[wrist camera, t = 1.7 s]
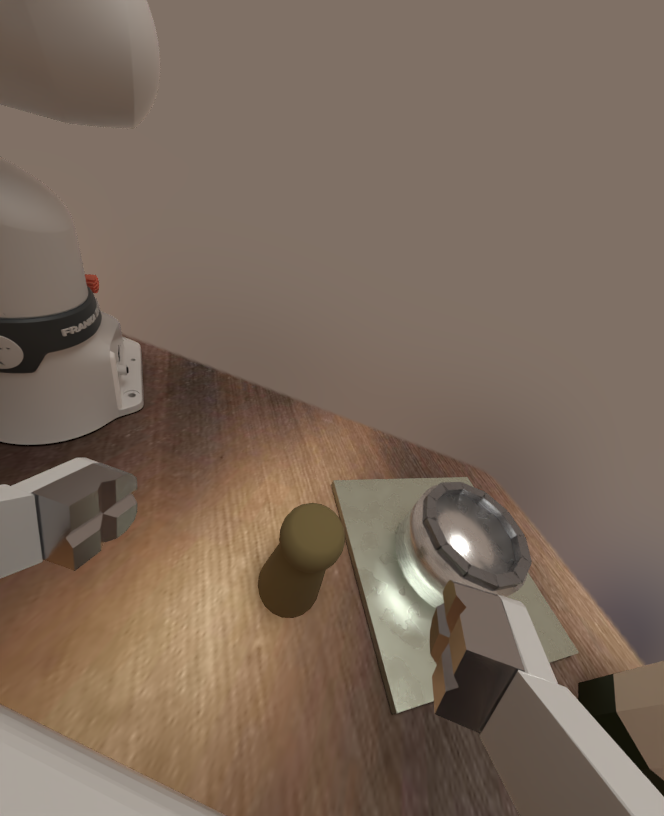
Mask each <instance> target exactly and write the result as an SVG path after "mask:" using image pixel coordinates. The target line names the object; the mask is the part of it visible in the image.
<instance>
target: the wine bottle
mask: <svg viewBox="0 0 664 816" xmlns="http://www.w3.org/2000/svg"><path fill="white" fill-rule="evenodd" d="M579 702H580V703H581V704H582V705H583V706H584V707H585V709H586V710H587V711H588V712H589V713H590V714H591V715H592V717H593V718H594V719H595V720H596V721H597V722H598V723H599V724H600V726H601V727H602V728H603V729H604V730H605V731H606V732H607V733H608V735H609V736H610V737H611V738H612V739H613V740H614V741H615V742H616V744H617V745H618V746H619V747H620V748H621V749H622V750H623V751H624V753H625V754H626V755H627V756H628V757H629V758H630V759H631V760H632V762H633V763H634V764H635V765H636V766H637V767H638V768H639V769H640V771H641V772H642V773H643V774H644V775H645V776H646V777H647V778H648V780H649V781H650V782H651V783H652V784H653V785H654V786H655V787H656V789H657V790H658V791H659V792H660V793H661V794H662V795H663V796H664V661H661V662H658V663H654V664H650V665H646V666H642V667H638V668H634V669H631V670H627V671H623V672H619V673H615V674H611V675H608V676H604V677H600V678H596V679H592V680H588V681H585V682H581V683H579Z"/></svg>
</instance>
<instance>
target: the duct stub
mask: <svg viewBox="0 0 664 816" xmlns="http://www.w3.org/2000/svg"><path fill="white" fill-rule="evenodd" d="M331 486H332V490H333V493H334V497H335V501H336V505H337V509H338V512H339V516H340V520H341V522H342V525H343V528H344V531H345V539H346V543H347V546H348V550H349V554H350V558H351V562H352V565H353V569H354V573H355V577H356V581H357V584H358V588H359V592H360V596H361V600H362V603H363V607H364V611H365V615H366V619H367V622H368V626H369V630H370V634H371V637H372V641H373V645H374V649H375V653H376V656H377V660H378V664H379V668H380V672H381V675H382V679H383V683H384V687H385V691H386V694H387V698H388V702H389V706H390V710H391V713H392V715H393V714H396V713H399V712H402V711H405V710H408V709H411V708H414V707H417V706H420V705H423V704H426V703H429V702H432V701H434V697H433V684H432V675H433V673H434V670H435V668H436V666H437V664H436V663H435V661H434V659H433V658H432V656H431V654H430V628H431V623H432V617H433V615H434V612H435V609H436V607H437V606H439V605H441V604H443V603H444V599H443V590H444V588H445V586H446V584H447V582H448V581H449V580H453V581H456V582H459V583H462V584H465V585H468V586H471V587H474V588H477V589H481V590H484V591H487V592H490V593H493V594H495V595H501V596H504V597H507V598H510V599H514V600H517V601H520V602H522V603H523V604H524V606H525V607H526V609H527V611H528V614H529V616H530V618H531V621H532V623H533V625H534V628H535V630H536V633H537V635H538V637H539V640H540V642H541V644H542V647H543V649H544V652H545V654H546V656H547V659H548V661H549V663H550V662H553V661H556V660H559V659H562V658H565V657H568V656H571V655H574V654H577V653H579V652H578V651H577V649H576V647H575V646H574V644H573V643H572V641H571V640H570V638H569V636H568V635H567V633H566V632H565V630H564V629H563V627H562V625H561V624H560V622H559V621H558V619H557V618H556V616H555V614H554V613H553V611H552V610H551V608H550V607H549V605H548V603H547V602H546V600H545V599H544V597H543V595H542V594H541V592H540V591H539V589H538V588H537V586H536V584H535V583H534V581H533V580H532V578H531V577H530V575H529V573H528V570H529V568H530V566H531V558H530V554H529V549H528V545H527V541H526V537H524V536H525V535H524V534H523V532H522V531H521V529H520V528H519V526H518V525H517V524H516V522H515V521H514V519H513V518H512V516H511V515H510V513H509V512H507V510H506V509H505V508H504V507H502V506H501V505H500V504H499V503H498V502H496V501H495V500H494V499H493V498H492V497H491V496H489V495H488V494H487V493H485V492H484V491H482V490H479V489H477V488H475V487H473V485H472V484H471V482H470V481H469V479H468V477H457V478H415V479H373V480H333V482H332V485H331Z"/></svg>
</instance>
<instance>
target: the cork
mask: <svg viewBox="0 0 664 816" xmlns="http://www.w3.org/2000/svg"><path fill="white" fill-rule="evenodd" d="M279 541H280V543H279V545H278V546H277V547H276V549H275V550H274V552H273V553H272V554H271V556H270V557H269V559H268V560H267V561H266V563H265V564H264V566H263V568H262V570H261V572H260V575H259V581H258V588H259V594H260V597H261V599H262V601H263V603H264V605H265V606H266V607H267V608H268V609H269V610H270V611H271V612H272V613H273V614H276V615H278V616H280V617H285V618H294V617H297V616H300V615H303V614H304V613H305V612H306V611H308V610H309V609H310V608H311V607H312V605H313V604H314V602H315V601H316V599H317V596H318V592H319V589H320V586H321V583H322V580H323V577H324V574H325V571H326V569H328V568H329V567H330V566H332V565H333V564H334V563H335V562H336V561H337V559H338V558H339V556H340V555H341V553H342V551H343V547H344V543H345V531H344V528H343V525H342V522H341V520H340V519H339V517H338V516H337V515H336V513H335V512H333V511H332V510H331V509H330V508H328V507H326V506H324V505H321V504H316V503H309V504H303V505H300V506H298V507H296V508H294V509H293V510H292V511H291V512H290V513H289V514H288V515H287V517H286V518H285V520H284V522H283V524H282V526H281V529H280V538H279Z"/></svg>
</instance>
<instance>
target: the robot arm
mask: <svg viewBox="0 0 664 816" xmlns="http://www.w3.org/2000/svg"><path fill="white" fill-rule="evenodd" d="M159 81H160V52H159V45H158V38H157V33H156V30H155V25H154V21H153V18H152V14H151V11H150V8H149V5H148V3H147V0H0V104H1V105H4V106H7V107H11V108H15V109H18V110H22V111H25V112H29V113H33V114H36V115H39V116H43V117H47V118H50V119H54V120H57V121H61V122H65V123H69V124H77V125H87V126H97V127H111V128H130V129H133V128H135V127H136V126H137V125H139V124H140V123H141V122H142V121H143V120H144V119H145V117H146V116H147V115H148V113H149V111H150V110H151V108H152V106H153V104H154V101H155V98H156V95H157V92H158V86H159ZM98 290H99V281H98V278H97V276H96V275H86V274H84V269H83V263H82V259H81V253H80V249H79V244H78V238H77V233H76V228H75V224H74V220H73V218H72V216H71V214H70V212H69V210H68V209H67V207H66V206H65V204H64V203H63V202H62V200H61V199H60V198H59V197H58V196H57V195H56V194H55V193H54V192H53V191H52V190H51V189H49V187H47V186H46V185H45V184H44V183H42V182H41V181H40V180H38V179H37V178H35V177H34V176H33V175H31V174H29V173H28V172H26V171H25V170H23V169H21V168H20V167H18V166H16V165H15V164H13V163H11V162H9V161H7V160H6V159H4V158H2V157H0V442H5V443H11V444H21V445H37V444H49V443H56V442H61V441H66V440H70V439H74V438H77V437H80V436H83V435H86V434H88V433H90V432H93V431H95V430H97V429H99V428H101V427H102V426H104V425H106V424H107V423H109V422H110V421H112V420H114V419H115V418H117V417H120V416H124V415H127V414H130V413H133V412H136V411H138V410H140V409H142V407H143V406H144V398H143V375H142V352H141V347H140V344H139V343H137V342H135V341H133V340H130V339H128V338H125V337H122V332H121V327H120V323H119V321H118V320H117V319H116V318H115V317H113V316H111V315H109V314H107V313H104V312H102V311H100V309H99V304H98V301H97V299H96V298H95V297H94V295H93V293H97V292H98ZM136 490H137V478H136V477H135V476H133V475H132V474H130V473H127V472H125V471H122V470H119V469H116V468H114V467H111V466H108V465H105V464H103V463H98V462H96V461H93V460H90V459H88V458H75V459H73V460H70V461H68V462H66V463H63V464H61V465H59V466H56V467H54V468H52V469H49V470H47V471H45V472H42V473H40V474H38V475H35V476H33V477H31V478H28V479H26V480H24V481H21V482H19V483H17V484H14V485H12V486H9V485H6V484H4V485H0V578H3V577H6V576H8V575H11V574H13V573H16V572H18V571H21V570H23V569H26V568H28V567H31V566H34V565H36V564H39V563H41V562H43V560H45V561H48V562H51V563H54V564H56V565H59V566H62V567H65V568H68V569H71V570H73V571H75V570H77V569H78V568H79V567H80V566H82V565H83V564H84V563H86V562H87V561H88V560H90V559H91V558H92V557H93V556H95V555H96V554H97V553H99V552H100V551H101V549H102V546H103V543H104V542H107V541H110V540H113V539H116V538H118V537H119V536H120V535H122V534H123V533H124V532H125V531H127V529H128V528H129V527H130V525H131V524H132V522H133V521H134V519H135V516H136V513H137V502H136V500H135V498H134V496H133V495H132V494H133V493H134V492H135V491H136ZM443 599H444V603H443V604H441V605H439V606H437V607H436V609H435V612H434V615H433V617H432V623H431V628H430V654H431V656H432V658H433V659H434V661H435V663H436V664H437V666H436V668H435V670H434V673H433V675H432V684H433V697H434V709H435V714H436V715H438V716H441V717H443V718H445V719H448V720H450V721H452V722H455V723H457V724H459V725H462V726H464V727H466V728H469V729H471V730H473V731H476V732H478V733H480V738H481V740H482V742H483V744H484V746H485V748H486V750H487V752H488V754H489V756H490V758H491V760H492V762H493V764H494V766H495V768H496V770H497V772H498V774H499V776H500V778H501V780H502V782H503V784H504V786H505V787H506V789H507V791H508V793H509V795H510V797H511V799H512V801H513V803H514V805H515V807H516V809H517V811H518V813H519V815H520V816H664V796H663V795H662V794H661V793H660V792H659V791H658V790H657V789H656V787H655V786H654V785H653V784H652V783H651V782H650V781H649V780H648V778H647V777H646V776H645V775H644V774H643V773H642V772H641V771H640V769H639V768H638V767H637V766H636V765H635V764H634V763H633V762H632V760H631V759H630V758H629V757H628V756H627V755H626V754H625V753H624V751H623V750H622V749H621V748H620V747H619V746H618V745H617V744H616V742H615V741H614V740H613V739H612V738H611V737H610V736H609V735H608V733H607V732H606V731H605V730H604V729H603V728H602V727H601V726H600V724H599V723H598V722H597V721H596V720H595V719H594V718H593V717H592V715H591V714H590V713H589V712H588V711H587V710H586V709H585V707H584V706H583V705H582V704H581V703H580V702H579V701H578V700H577V698H576V697H575V696H574V695H573V694H572V693H571V692H570V691H569V689H568V688H566V687H564V686H561V685H558V683H557V680H556V678H555V675H554V673H553V671H552V668H551V666H550V664H549V661H548V659H547V656H546V654H545V652H544V649H543V647H542V644H541V642H540V640H539V637H538V635H537V633H536V630H535V628H534V625H533V623H532V621H531V618H530V616H529V614H528V611H527V609H526V607H525V606H524V604H523V603H522V602H520V601H517V600H514V599H510V598H507V597H504V596H501V595H495V594H493V593H490V592H487V591H484V590H481V589H477V588H474V587H471V586H468V585H465V584H462V583H459V582H456V581H453V580H449V581H448V582H447V584H446V586H445V588H444V590H443ZM0 816H226V815H224V814H222V813H220V812H218V811H216V810H214V809H212V808H210V807H208V806H206V805H204V804H202V803H200V802H198V801H196V800H194V799H192V798H190V797H188V796H186V795H184V794H182V793H180V792H178V791H176V790H174V789H172V788H170V787H168V786H166V785H164V784H162V783H160V782H158V781H156V780H153V779H151V778H149V777H147V776H145V775H143V774H141V773H139V772H137V771H135V770H133V769H131V768H129V767H127V766H125V765H123V764H121V763H119V762H117V761H115V760H113V759H111V758H109V757H107V756H105V755H103V754H101V753H99V752H97V751H95V750H93V749H91V748H89V747H87V746H85V745H82V744H80V743H78V742H76V741H74V740H72V739H70V738H68V737H66V736H64V735H62V734H60V733H58V732H56V731H54V730H52V729H50V728H48V727H46V726H44V725H42V724H40V723H38V722H36V721H34V720H32V719H30V718H28V717H26V716H24V715H22V714H20V713H18V712H16V711H14V710H12V709H9V708H7V707H5V706H3V705H1V704H0Z"/></svg>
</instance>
